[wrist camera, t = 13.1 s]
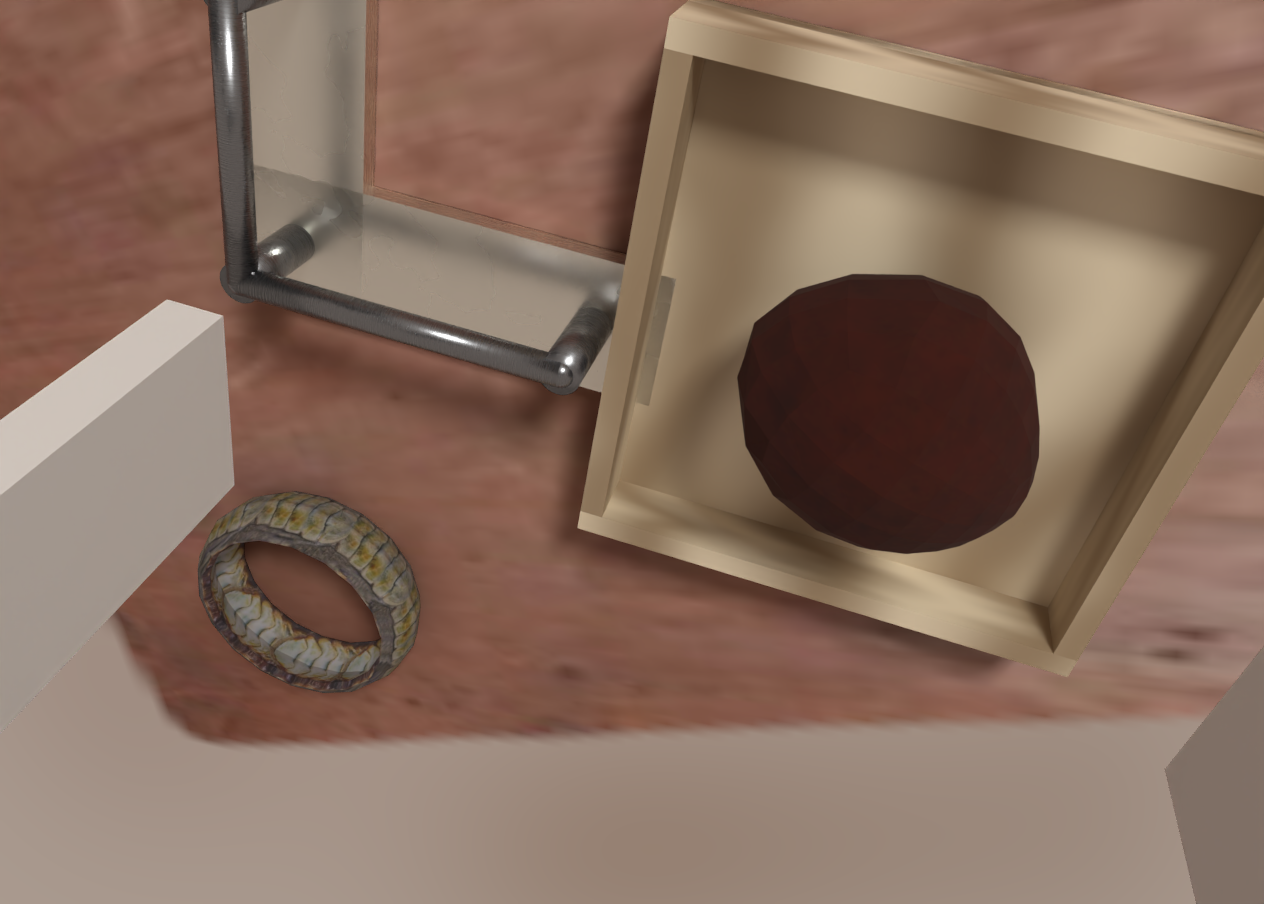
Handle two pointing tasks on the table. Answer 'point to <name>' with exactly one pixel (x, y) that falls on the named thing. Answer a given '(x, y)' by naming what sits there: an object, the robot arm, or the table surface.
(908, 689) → the table surface
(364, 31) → the corner grab bar
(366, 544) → the decorative ring
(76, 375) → the robot arm
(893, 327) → the dark brown ball
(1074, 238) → the tray
